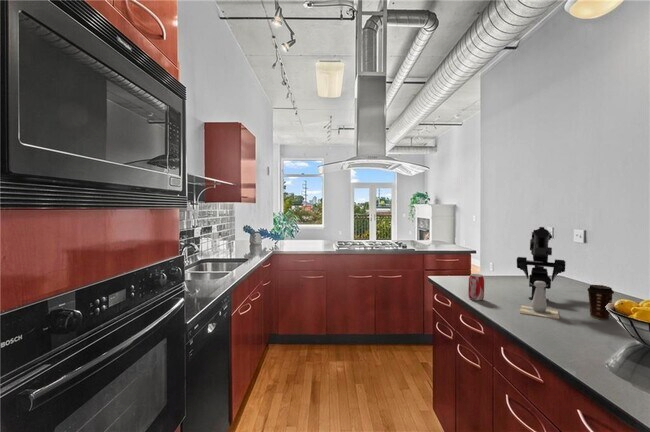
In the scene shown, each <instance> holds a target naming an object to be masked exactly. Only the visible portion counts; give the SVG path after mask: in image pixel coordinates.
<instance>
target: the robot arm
mask: <svg viewBox="0 0 650 432" xmlns="http://www.w3.org/2000/svg"><path fill="white" fill-rule="evenodd" d="M551 239H553V235H552V234H551V232H550V230H548V229H546V228H545V226H539V227H538V228H537V229H533V231H531V238H530V240H529V251H530V254H531V255H532V260H529V259H528V258H527V257H525V256H523V257H522V256H517V257H516V268H517V269H520V270H521V271H522V272H523V273H524V274H525V277H526V279H527V280H528V281H529V282H528V283H529V284H528V287H529V288H530V287H531V296H528V299H530V300H533V297H534V293H535V289H536V286H534V282H535V281H543V282H545V283H546V287H544V290H545V296H546V293H547V291H546V289H548V290H549V289H551V288H552V287H551V286H552V282H554V281H555V278H556V277H557V276H558V275H559V274H562V273H564V272H566V260H564V259H554V262H549V256H552V255H553V248H552V247H549V242H550V241H551ZM528 266H533V267H532V268H531V270H530V271H531V273H530V274H529V270H528ZM548 268H553V269H552V272H551V274H552V275H551V277H550V275H549V273H548ZM546 297H547V296H546ZM549 300H550V299H549V298H546V302H547V301H549Z"/></svg>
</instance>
